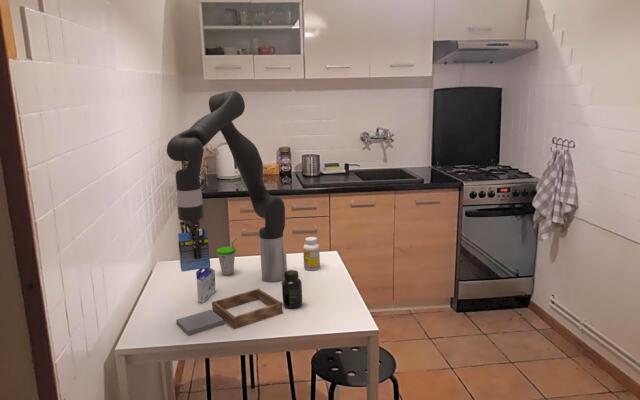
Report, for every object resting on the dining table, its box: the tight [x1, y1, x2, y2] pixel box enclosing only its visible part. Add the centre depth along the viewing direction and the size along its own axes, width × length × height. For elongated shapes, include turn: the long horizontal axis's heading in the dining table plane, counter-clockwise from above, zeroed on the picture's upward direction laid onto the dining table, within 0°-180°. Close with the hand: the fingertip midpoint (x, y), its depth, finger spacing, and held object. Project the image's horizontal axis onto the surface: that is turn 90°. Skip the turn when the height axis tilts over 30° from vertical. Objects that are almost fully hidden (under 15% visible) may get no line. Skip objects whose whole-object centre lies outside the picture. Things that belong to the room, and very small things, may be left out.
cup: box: [216, 238, 237, 277], centre depth 204 cm, size 8×8×15 cm
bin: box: [211, 288, 284, 330], centre depth 170 cm, size 18×16×4 cm
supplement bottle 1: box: [281, 269, 303, 310], centre depth 173 cm, size 7×7×12 cm
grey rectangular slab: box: [175, 308, 225, 336], centre depth 162 cm, size 12×10×2 cm
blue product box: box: [177, 229, 211, 272], centre depth 157 cm, size 9×4×12 cm, turn 109°
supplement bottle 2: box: [302, 236, 321, 271], centre depth 208 cm, size 7×7×13 cm
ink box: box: [195, 267, 216, 304], centre depth 183 cm, size 12×2×12 cm, turn 168°
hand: (194, 256), depth 157 cm, fingers closed on blue product box, 4 cm apart
